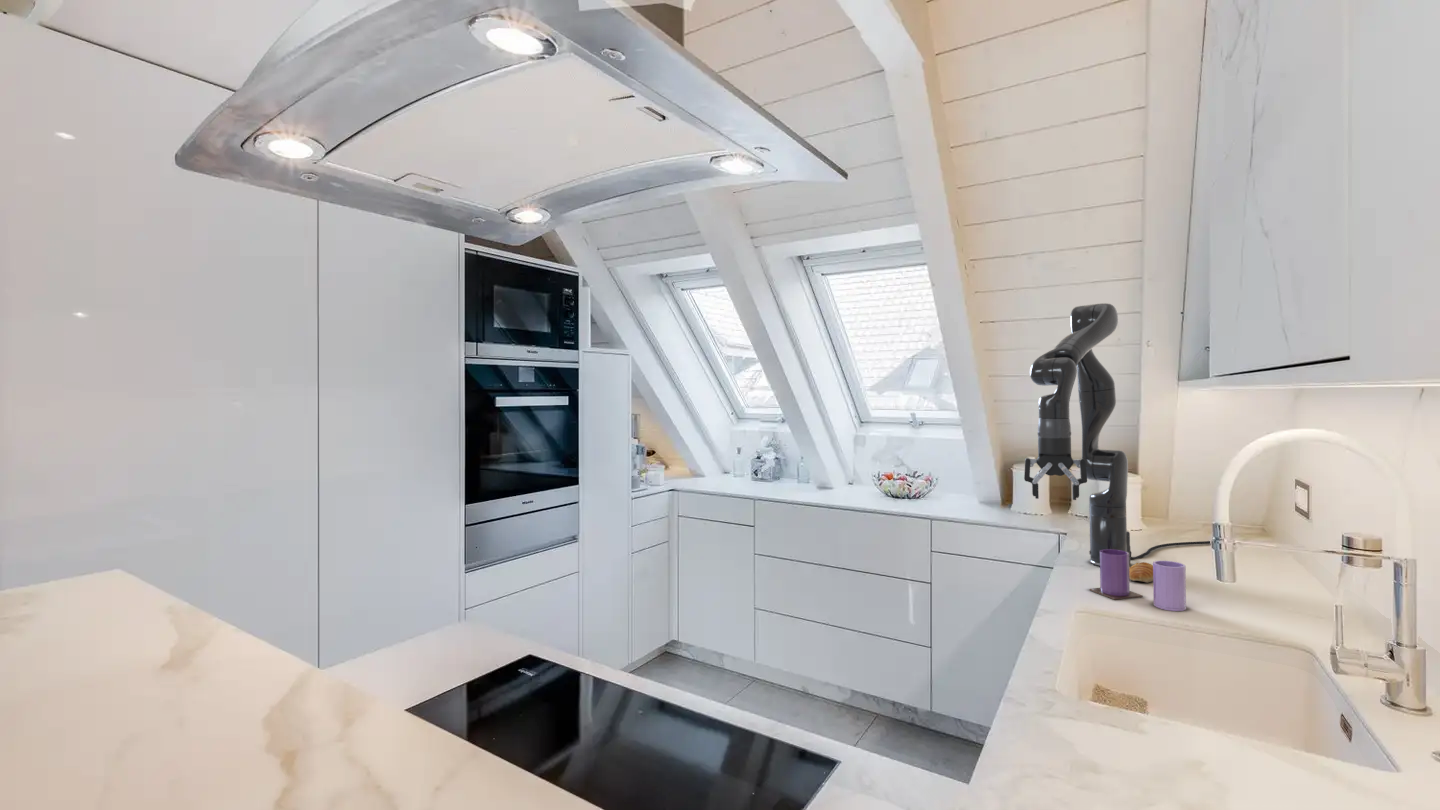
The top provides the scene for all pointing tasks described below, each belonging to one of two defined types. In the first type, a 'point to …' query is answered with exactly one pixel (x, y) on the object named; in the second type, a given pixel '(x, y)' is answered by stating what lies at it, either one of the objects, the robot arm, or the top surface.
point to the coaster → (1131, 595)
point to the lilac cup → (1169, 585)
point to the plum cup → (1114, 572)
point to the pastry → (1141, 572)
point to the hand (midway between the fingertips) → (1055, 498)
